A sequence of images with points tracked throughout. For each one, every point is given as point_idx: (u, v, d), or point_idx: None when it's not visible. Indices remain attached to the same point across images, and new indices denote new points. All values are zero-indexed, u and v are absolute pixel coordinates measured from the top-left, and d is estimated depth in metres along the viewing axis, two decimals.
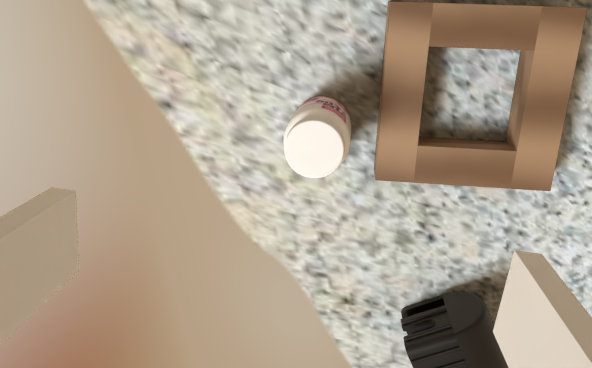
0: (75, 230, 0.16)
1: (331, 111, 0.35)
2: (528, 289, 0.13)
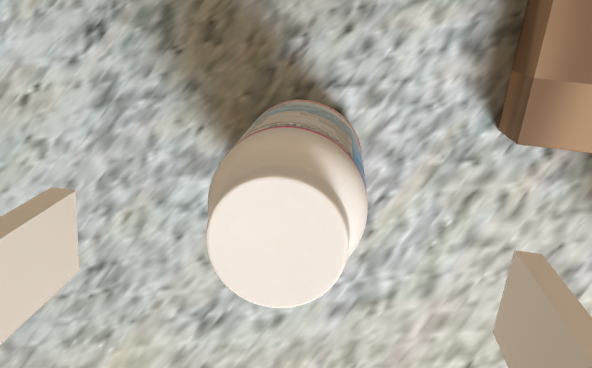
0: (75, 230, 0.16)
1: None
2: (528, 289, 0.13)
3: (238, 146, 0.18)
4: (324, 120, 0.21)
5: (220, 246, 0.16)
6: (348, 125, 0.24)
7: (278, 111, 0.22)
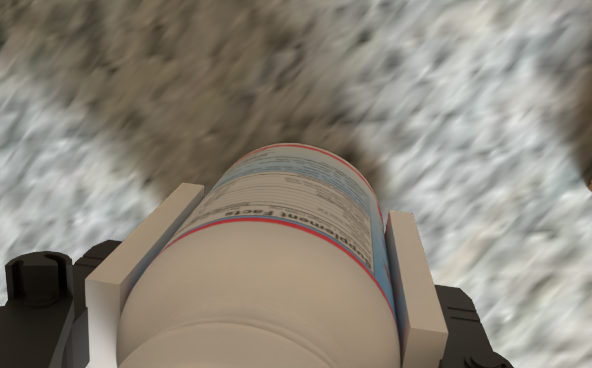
0: None
1: None
2: (390, 239, 0.15)
3: (164, 259, 0.10)
4: (325, 190, 0.13)
5: None
6: (363, 185, 0.16)
7: (252, 170, 0.14)
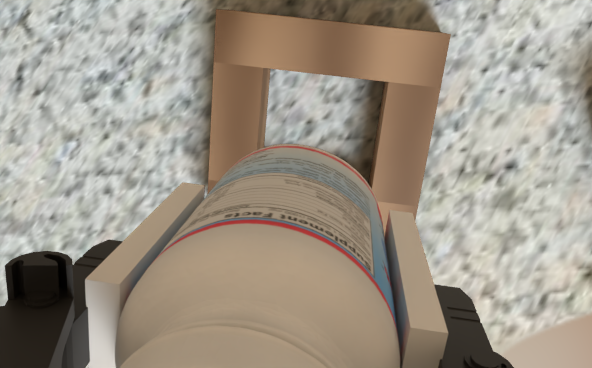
0: None
1: None
2: (390, 239, 0.15)
3: (163, 261, 0.10)
4: (325, 192, 0.13)
5: None
6: (363, 186, 0.16)
7: (252, 172, 0.14)
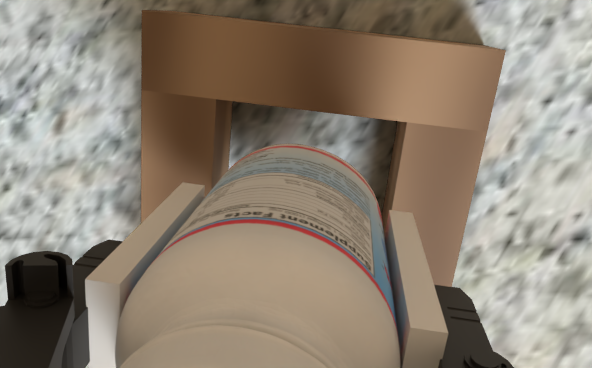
0: None
1: None
2: (390, 239, 0.15)
3: (164, 261, 0.10)
4: (325, 191, 0.13)
5: None
6: (363, 186, 0.16)
7: (252, 172, 0.14)
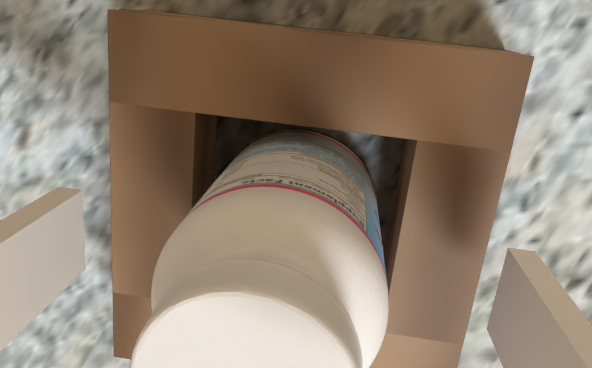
0: (82, 229, 0.16)
1: None
2: (521, 285, 0.13)
3: (193, 217, 0.12)
4: (325, 166, 0.15)
5: None
6: (359, 166, 0.18)
7: (262, 151, 0.16)
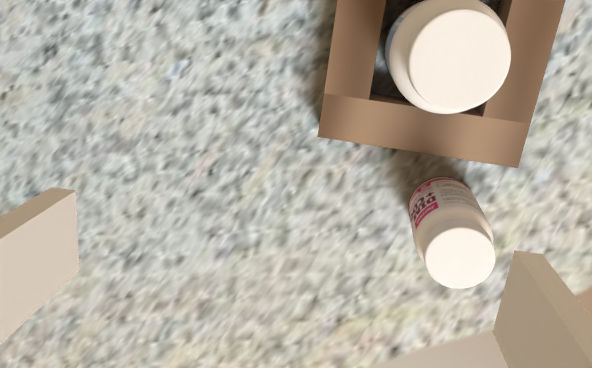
0: (75, 230, 0.16)
1: (421, 220, 0.32)
2: (528, 289, 0.13)
3: (419, 6, 0.26)
4: None
5: (419, 62, 0.24)
6: None
7: None
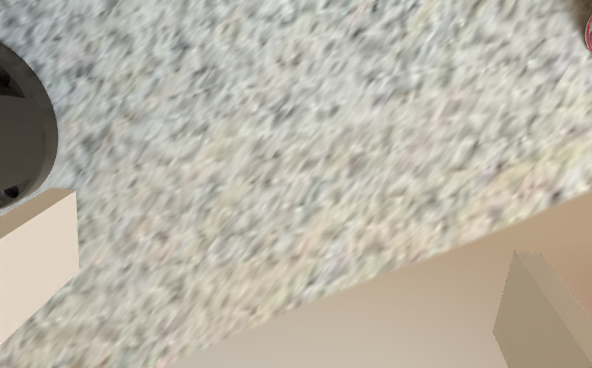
0: (75, 230, 0.16)
1: None
2: (528, 289, 0.13)
3: None
4: None
5: None
6: None
7: None
